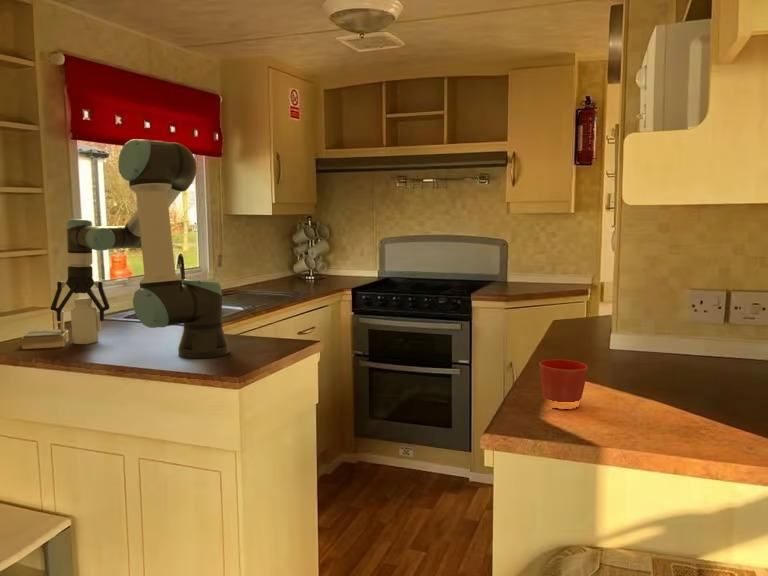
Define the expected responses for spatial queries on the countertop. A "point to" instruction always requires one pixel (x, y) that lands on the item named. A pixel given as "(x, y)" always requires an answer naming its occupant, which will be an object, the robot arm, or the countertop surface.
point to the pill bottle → (84, 322)
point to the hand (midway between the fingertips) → (81, 330)
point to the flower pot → (563, 380)
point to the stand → (45, 339)
